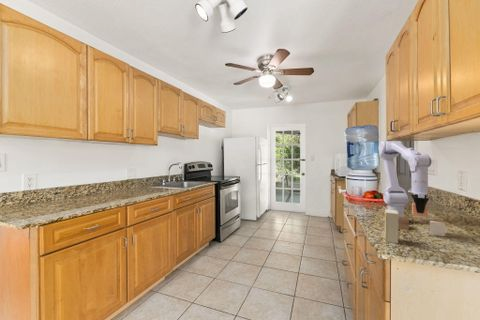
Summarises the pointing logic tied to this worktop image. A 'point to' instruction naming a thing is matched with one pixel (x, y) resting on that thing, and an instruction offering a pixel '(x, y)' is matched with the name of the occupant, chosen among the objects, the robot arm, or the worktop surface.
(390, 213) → the skincare box
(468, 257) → the worktop surface
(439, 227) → the beige cube
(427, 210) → the terracotta cube
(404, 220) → the walnut cube
